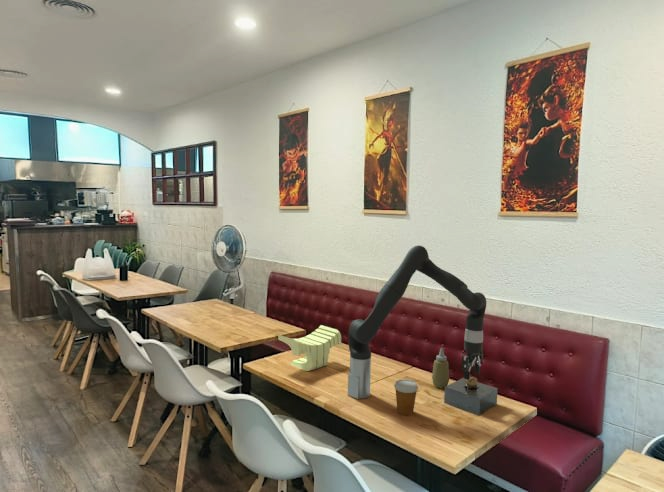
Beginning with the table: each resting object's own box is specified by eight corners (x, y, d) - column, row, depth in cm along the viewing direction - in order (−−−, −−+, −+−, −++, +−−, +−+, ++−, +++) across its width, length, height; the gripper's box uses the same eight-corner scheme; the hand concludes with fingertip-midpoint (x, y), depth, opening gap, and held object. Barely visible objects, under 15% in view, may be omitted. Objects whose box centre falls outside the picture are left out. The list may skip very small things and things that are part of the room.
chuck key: (472, 406, 183) (473, 381, 182) (462, 403, 187) (463, 378, 186) (478, 403, 187) (479, 378, 186) (467, 400, 190) (468, 375, 189)
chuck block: (479, 415, 175) (480, 398, 175) (444, 402, 187) (444, 386, 186) (496, 404, 187) (497, 388, 186) (462, 392, 198) (463, 377, 197)
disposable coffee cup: (411, 419, 170) (413, 389, 170) (389, 413, 175) (390, 384, 175) (420, 410, 178) (421, 382, 178) (399, 404, 183) (400, 377, 183)
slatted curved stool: (297, 377, 212) (298, 341, 211) (277, 368, 224) (278, 334, 222) (340, 363, 233) (341, 330, 232) (320, 356, 245) (321, 325, 243)
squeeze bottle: (452, 386, 205) (453, 349, 204) (443, 391, 199) (445, 352, 198) (436, 381, 211) (438, 345, 209) (428, 386, 205) (429, 348, 204)
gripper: (473, 344, 177) (471, 383, 178) (489, 338, 187) (487, 375, 188) (457, 340, 182) (455, 378, 183) (473, 335, 192) (471, 370, 193)
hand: (471, 376), depth 186 cm, fingers open, 8 cm apart
